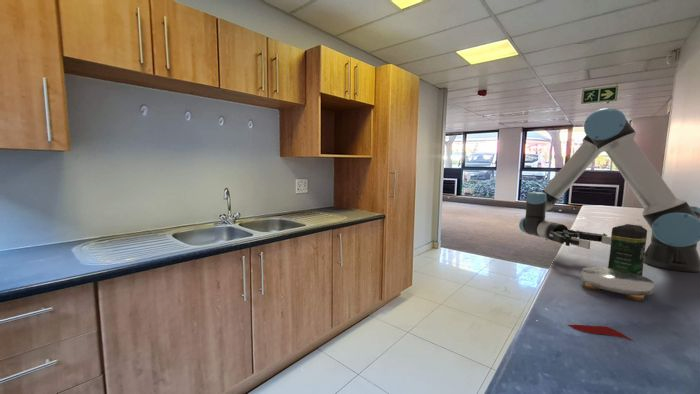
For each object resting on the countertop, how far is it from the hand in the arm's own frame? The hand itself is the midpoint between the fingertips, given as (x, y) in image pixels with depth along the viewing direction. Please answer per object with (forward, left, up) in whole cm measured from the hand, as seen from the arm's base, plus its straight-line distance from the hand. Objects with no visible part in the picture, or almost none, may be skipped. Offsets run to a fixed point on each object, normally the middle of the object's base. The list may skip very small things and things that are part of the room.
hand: (605, 244), depth 101 cm
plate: (+11, +12, -10) cm, 20 cm away
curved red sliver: (+39, +30, -11) cm, 51 cm away
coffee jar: (-1, +6, -11) cm, 12 cm away
